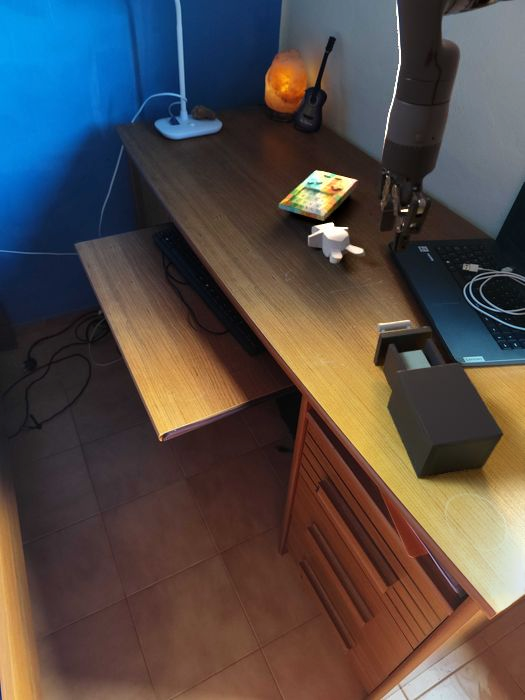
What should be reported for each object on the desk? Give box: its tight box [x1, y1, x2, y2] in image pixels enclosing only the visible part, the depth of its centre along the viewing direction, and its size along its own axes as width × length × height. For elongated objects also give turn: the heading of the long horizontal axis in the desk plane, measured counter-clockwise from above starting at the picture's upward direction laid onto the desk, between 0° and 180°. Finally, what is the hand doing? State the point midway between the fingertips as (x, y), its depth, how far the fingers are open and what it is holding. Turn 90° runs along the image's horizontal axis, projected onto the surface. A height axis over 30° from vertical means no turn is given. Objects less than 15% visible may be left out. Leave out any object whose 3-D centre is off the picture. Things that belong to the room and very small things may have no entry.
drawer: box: [372, 319, 447, 391], centre depth 74 cm, size 16×8×7 cm, turn 9°
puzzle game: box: [278, 169, 359, 222], centre depth 115 cm, size 12×5×20 cm
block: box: [399, 350, 431, 370], centre depth 73 cm, size 4×4×4 cm
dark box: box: [386, 362, 504, 479], centre depth 66 cm, size 13×10×9 cm
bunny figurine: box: [307, 222, 366, 264], centre depth 101 cm, size 10×5×15 cm
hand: (392, 239), depth 75 cm, fingers open, 5 cm apart
